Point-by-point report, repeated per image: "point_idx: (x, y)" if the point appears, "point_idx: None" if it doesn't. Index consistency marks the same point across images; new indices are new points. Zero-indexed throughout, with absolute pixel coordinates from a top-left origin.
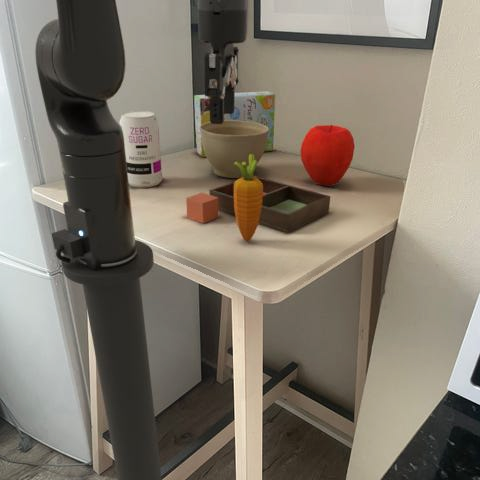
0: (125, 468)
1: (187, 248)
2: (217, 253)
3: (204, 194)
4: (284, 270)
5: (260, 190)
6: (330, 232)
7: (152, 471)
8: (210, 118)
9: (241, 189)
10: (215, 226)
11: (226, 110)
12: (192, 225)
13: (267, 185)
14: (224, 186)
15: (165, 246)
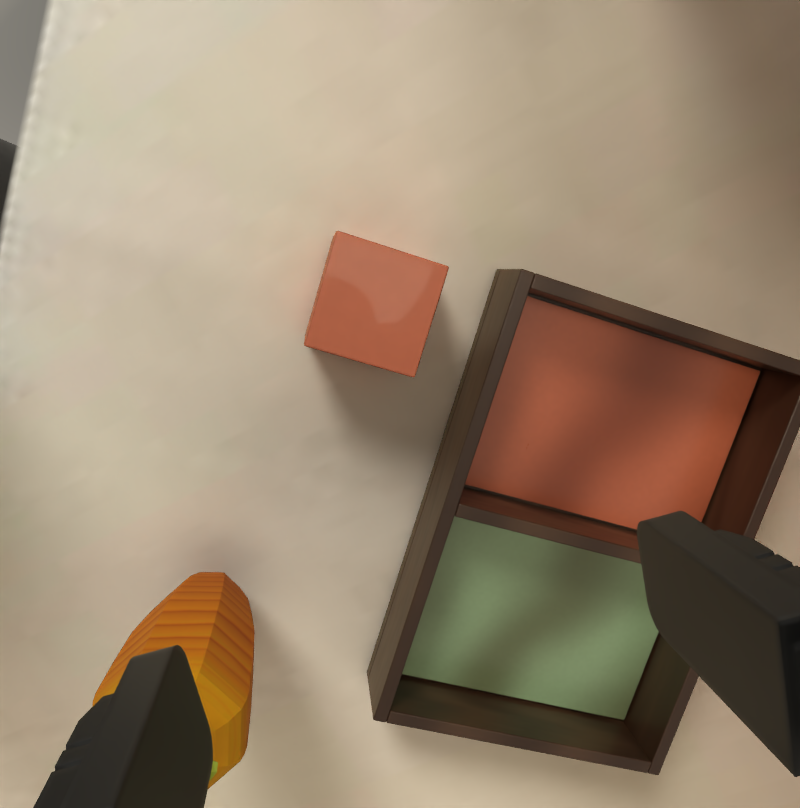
0: None
1: (40, 404)
2: (64, 528)
3: (425, 292)
4: None
5: None
6: (448, 790)
7: None
8: (126, 677)
9: None
10: (302, 398)
11: (656, 572)
12: (265, 303)
13: (755, 456)
14: (606, 312)
15: (6, 312)
